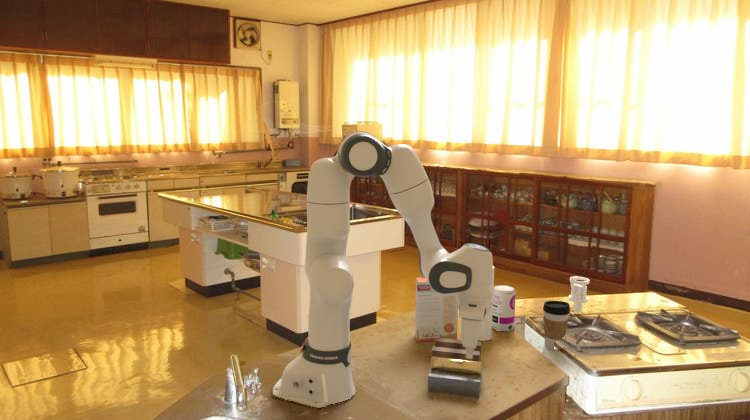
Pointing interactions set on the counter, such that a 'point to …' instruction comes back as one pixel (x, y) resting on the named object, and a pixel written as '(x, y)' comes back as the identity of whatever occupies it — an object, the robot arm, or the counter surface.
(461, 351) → the walnut bearing block
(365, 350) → the counter surface
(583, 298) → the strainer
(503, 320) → the supplement can
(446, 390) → the iron V-block
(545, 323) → the coffee cup
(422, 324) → the cracker box
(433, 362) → the brass axle
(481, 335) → the cylindrical container
